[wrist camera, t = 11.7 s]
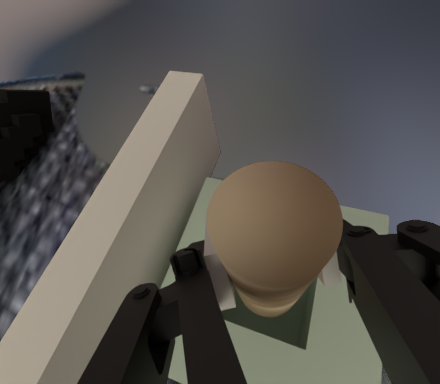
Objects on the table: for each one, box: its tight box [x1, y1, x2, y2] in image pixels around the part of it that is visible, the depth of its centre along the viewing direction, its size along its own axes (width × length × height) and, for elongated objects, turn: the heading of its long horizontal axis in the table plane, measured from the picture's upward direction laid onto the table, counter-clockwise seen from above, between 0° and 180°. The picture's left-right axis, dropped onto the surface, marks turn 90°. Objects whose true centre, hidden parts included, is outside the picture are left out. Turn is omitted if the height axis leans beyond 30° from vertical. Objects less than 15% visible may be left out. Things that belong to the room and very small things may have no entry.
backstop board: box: [0, 71, 221, 384], centre depth 20 cm, size 3×26×10 cm, turn 161°
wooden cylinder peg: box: [207, 161, 343, 318], centre depth 13 cm, size 4×4×12 cm
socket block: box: [160, 177, 389, 384], centre depth 20 cm, size 14×14×5 cm
